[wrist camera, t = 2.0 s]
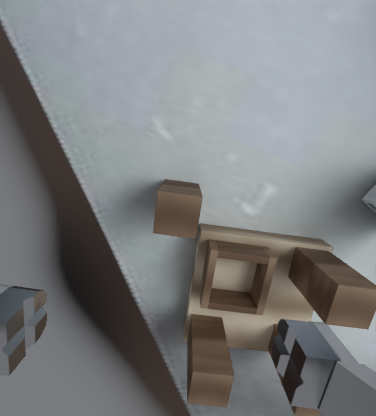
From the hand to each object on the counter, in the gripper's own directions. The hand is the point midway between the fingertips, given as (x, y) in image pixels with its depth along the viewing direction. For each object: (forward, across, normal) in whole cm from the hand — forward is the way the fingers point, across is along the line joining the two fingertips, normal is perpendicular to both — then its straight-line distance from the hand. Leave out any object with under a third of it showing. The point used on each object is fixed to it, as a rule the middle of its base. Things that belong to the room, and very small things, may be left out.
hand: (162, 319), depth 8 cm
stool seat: (+21, -11, +11) cm, 26 cm away
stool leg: (+21, 0, 0) cm, 21 cm away
